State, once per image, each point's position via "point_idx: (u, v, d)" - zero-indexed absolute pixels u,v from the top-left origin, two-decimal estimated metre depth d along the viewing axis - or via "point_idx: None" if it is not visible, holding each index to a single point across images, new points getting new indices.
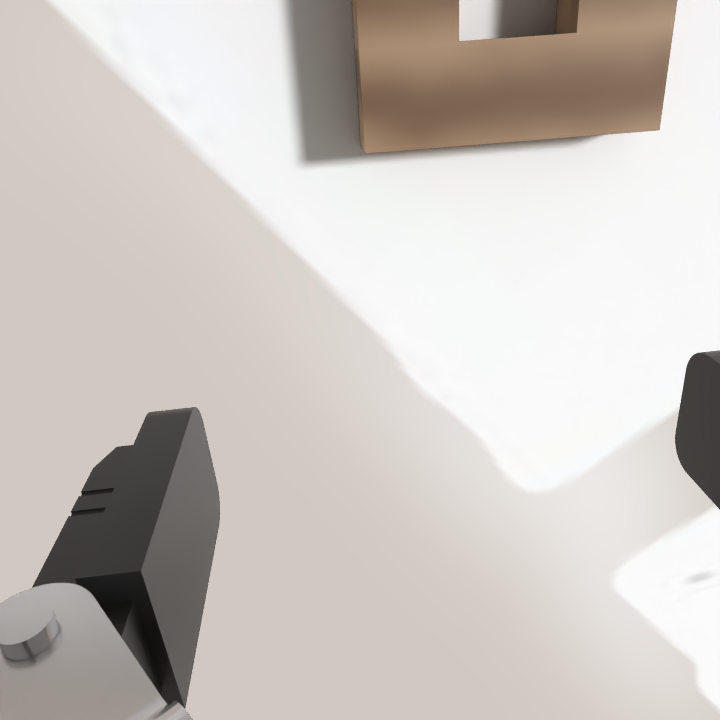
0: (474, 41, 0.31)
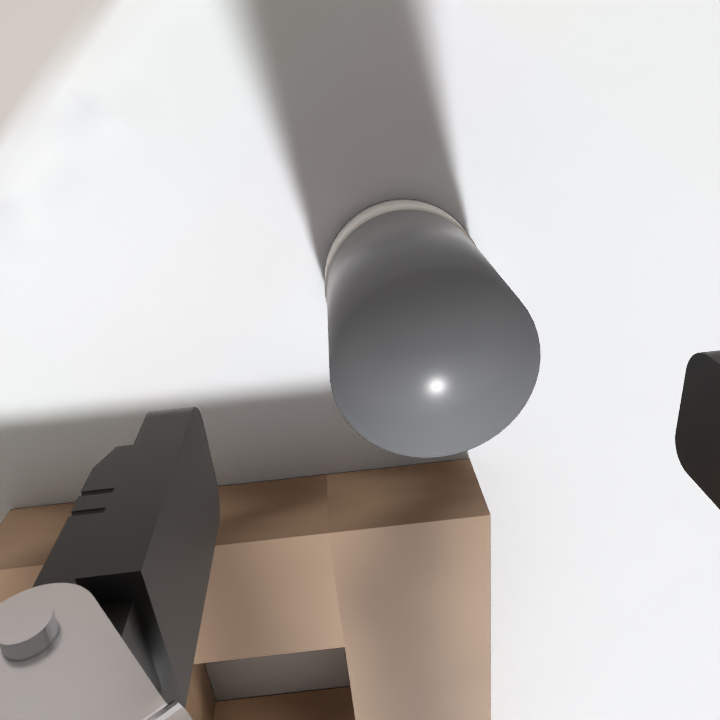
0: None
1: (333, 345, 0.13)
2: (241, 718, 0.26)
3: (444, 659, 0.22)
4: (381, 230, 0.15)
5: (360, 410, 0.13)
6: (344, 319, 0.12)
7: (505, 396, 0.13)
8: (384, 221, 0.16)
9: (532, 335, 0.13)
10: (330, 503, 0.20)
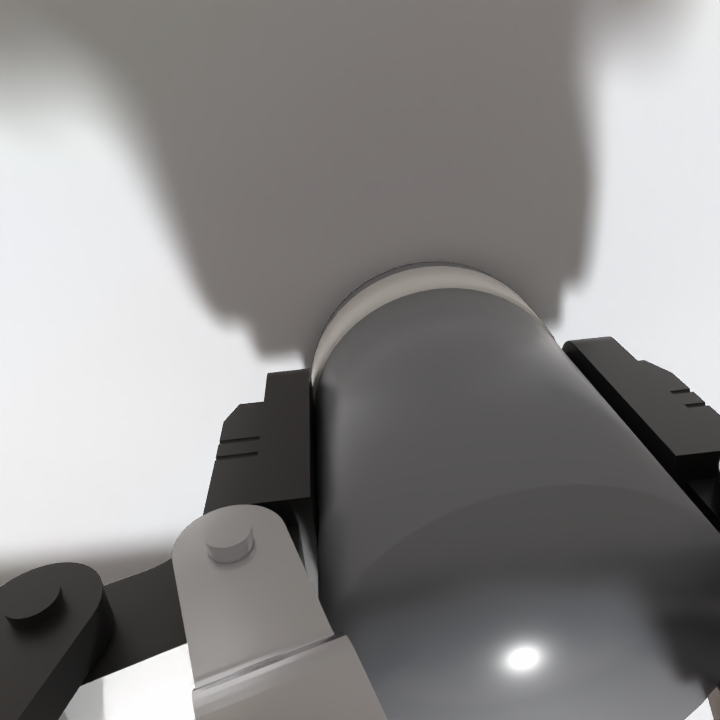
0: None
1: None
2: None
3: None
4: (411, 337, 0.09)
5: None
6: (353, 582, 0.06)
7: (665, 694, 0.07)
8: (413, 314, 0.09)
9: None
10: None
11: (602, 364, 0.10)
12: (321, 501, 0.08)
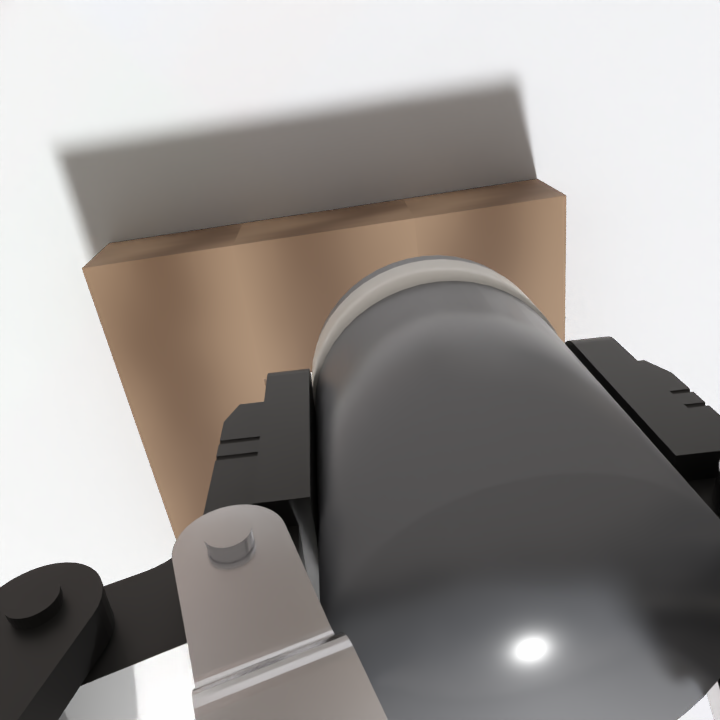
0: None
1: (329, 616, 0.06)
2: None
3: None
4: (412, 329, 0.09)
5: None
6: (354, 571, 0.06)
7: (668, 686, 0.07)
8: (414, 307, 0.09)
9: None
10: (411, 208, 0.22)
11: (602, 364, 0.10)
12: (322, 493, 0.08)
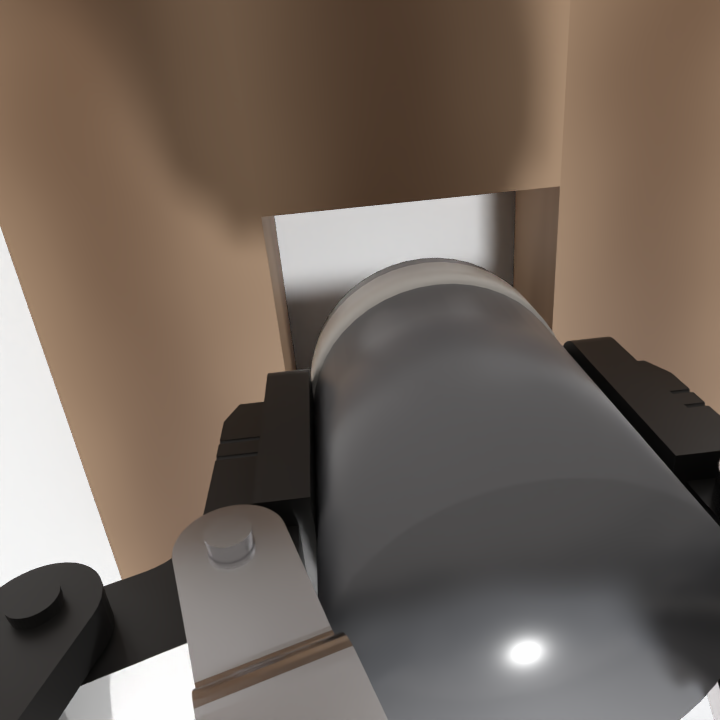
0: (264, 256, 0.13)
1: None
2: None
3: (715, 227, 0.13)
4: (410, 332, 0.09)
5: None
6: (351, 575, 0.06)
7: (665, 689, 0.07)
8: (413, 310, 0.09)
9: None
10: None
11: (602, 364, 0.10)
12: (320, 497, 0.08)
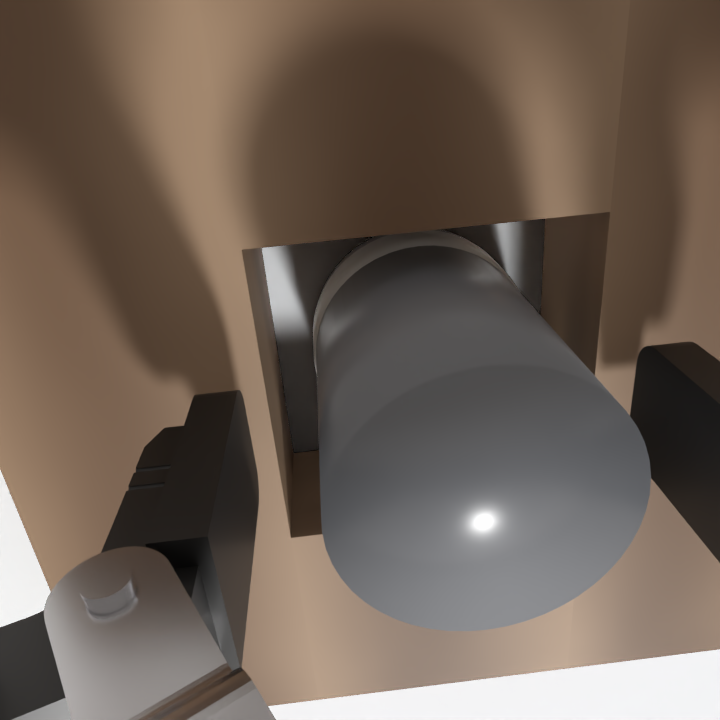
0: (245, 296, 0.10)
1: (327, 481, 0.08)
2: None
3: None
4: (395, 280, 0.11)
5: (368, 571, 0.09)
6: (346, 443, 0.08)
7: (591, 547, 0.09)
8: (398, 264, 0.11)
9: (640, 461, 0.08)
10: None
11: (691, 371, 0.09)
12: (322, 407, 0.10)
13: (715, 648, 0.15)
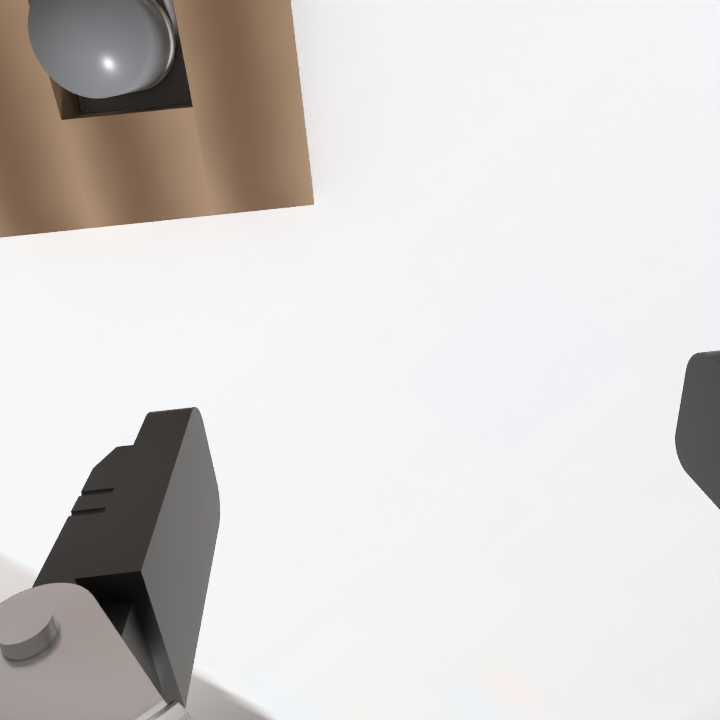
0: None
1: (28, 19, 0.24)
2: (100, 113, 0.31)
3: None
4: None
5: (50, 63, 0.25)
6: (31, 2, 0.24)
7: (131, 57, 0.25)
8: None
9: (137, 17, 0.24)
10: None
11: None
12: None
13: None
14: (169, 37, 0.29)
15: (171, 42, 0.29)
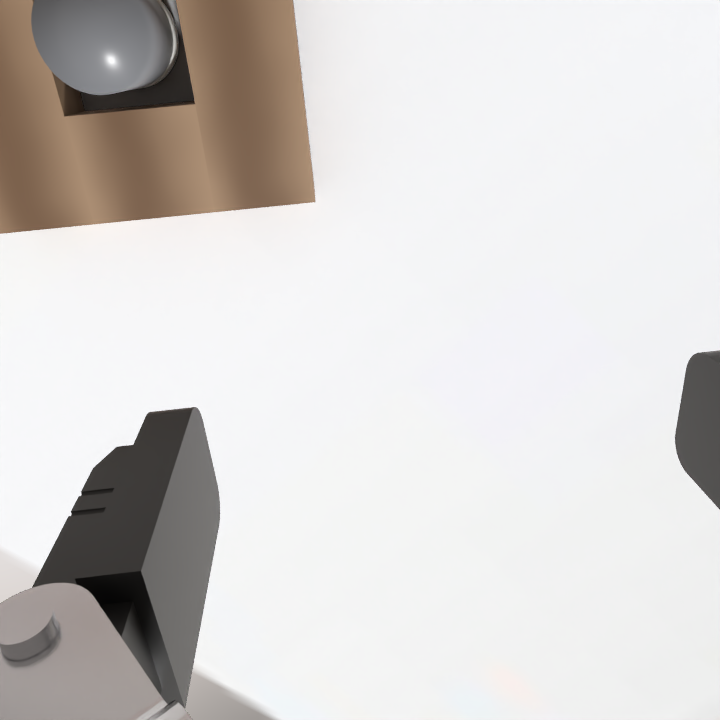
0: None
1: (32, 16, 0.24)
2: (103, 110, 0.31)
3: None
4: None
5: (54, 60, 0.25)
6: None
7: (134, 53, 0.25)
8: None
9: (140, 13, 0.24)
10: None
11: None
12: None
13: (288, 204, 0.31)
14: (171, 34, 0.29)
15: (174, 39, 0.29)
